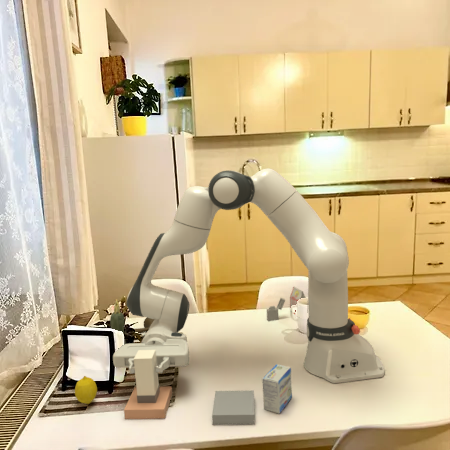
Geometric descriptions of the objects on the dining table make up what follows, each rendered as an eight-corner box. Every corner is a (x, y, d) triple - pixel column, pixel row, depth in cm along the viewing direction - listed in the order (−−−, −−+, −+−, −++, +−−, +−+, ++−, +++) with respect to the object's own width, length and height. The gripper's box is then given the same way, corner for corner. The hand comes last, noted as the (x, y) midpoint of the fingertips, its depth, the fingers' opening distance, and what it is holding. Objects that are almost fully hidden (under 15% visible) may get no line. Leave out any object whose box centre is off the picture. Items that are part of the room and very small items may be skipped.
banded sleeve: (159, 392, 109) (156, 349, 107) (155, 402, 104) (151, 358, 102) (142, 392, 109) (138, 349, 107) (137, 403, 105) (133, 359, 102)
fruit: (74, 402, 111) (71, 374, 109) (96, 395, 113) (92, 368, 112) (78, 412, 106) (75, 384, 105) (100, 405, 109) (97, 377, 107)
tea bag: (298, 309, 165) (297, 285, 164) (307, 315, 159) (307, 290, 157) (290, 311, 164) (289, 287, 162) (299, 317, 158) (298, 292, 156)
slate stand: (254, 399, 108) (253, 390, 107) (254, 424, 98) (254, 414, 98) (215, 399, 108) (215, 390, 108) (212, 424, 99) (212, 415, 98)
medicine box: (279, 414, 101) (278, 382, 99) (263, 409, 103) (261, 377, 102) (292, 397, 108) (291, 367, 106) (276, 393, 110) (275, 363, 108)
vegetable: (124, 363, 130) (118, 303, 126) (111, 363, 130) (105, 302, 127) (130, 357, 134) (124, 298, 130) (118, 356, 135) (111, 297, 131)
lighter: (268, 321, 156) (267, 301, 154) (266, 319, 157) (266, 299, 156) (286, 318, 157) (285, 298, 156) (284, 316, 159) (283, 297, 158)
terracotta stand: (172, 394, 112) (171, 386, 111) (164, 418, 102) (164, 409, 101) (135, 395, 112) (135, 386, 112) (124, 418, 103) (124, 409, 102)
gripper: (120, 335, 118) (103, 360, 105) (191, 333, 117) (183, 358, 103) (122, 356, 119) (106, 382, 106) (193, 354, 118) (185, 381, 104)
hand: (145, 370), depth 104 cm, fingers open, 5 cm apart
